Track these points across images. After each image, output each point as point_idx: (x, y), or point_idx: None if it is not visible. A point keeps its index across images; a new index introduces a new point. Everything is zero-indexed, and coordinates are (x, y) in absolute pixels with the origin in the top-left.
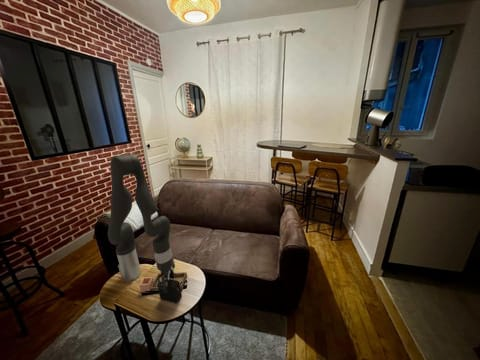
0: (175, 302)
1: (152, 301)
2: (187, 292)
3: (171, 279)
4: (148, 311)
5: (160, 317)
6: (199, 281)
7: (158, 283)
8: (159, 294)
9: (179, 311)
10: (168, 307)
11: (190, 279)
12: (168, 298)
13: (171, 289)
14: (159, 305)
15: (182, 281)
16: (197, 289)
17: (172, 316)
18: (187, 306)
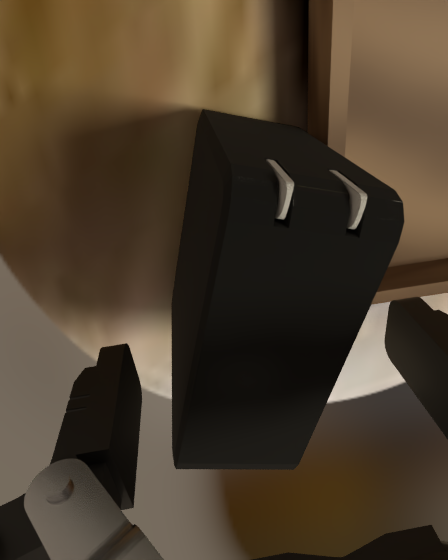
0: (172, 297)
1: (157, 4)
2: None
3: (333, 384)
4: (14, 36)
5: (4, 225)
6: (395, 372)
7: (240, 205)
8: (206, 120)
9: None
10: (122, 247)
11: (433, 301)
12: (183, 242)
13: (177, 405)
14: (123, 140)
15: (397, 294)
16: None
17: (51, 319)
18: (162, 380)
